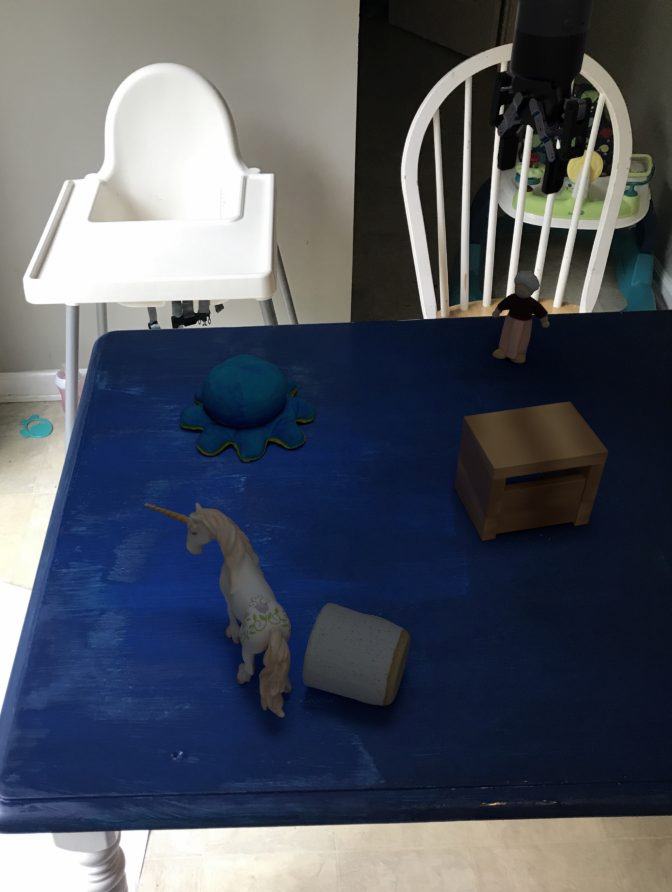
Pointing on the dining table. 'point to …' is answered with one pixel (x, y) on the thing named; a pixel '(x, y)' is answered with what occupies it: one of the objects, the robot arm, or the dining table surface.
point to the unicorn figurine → (245, 602)
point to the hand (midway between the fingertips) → (527, 180)
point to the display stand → (528, 468)
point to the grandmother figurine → (519, 317)
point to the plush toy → (247, 408)
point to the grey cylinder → (356, 655)
